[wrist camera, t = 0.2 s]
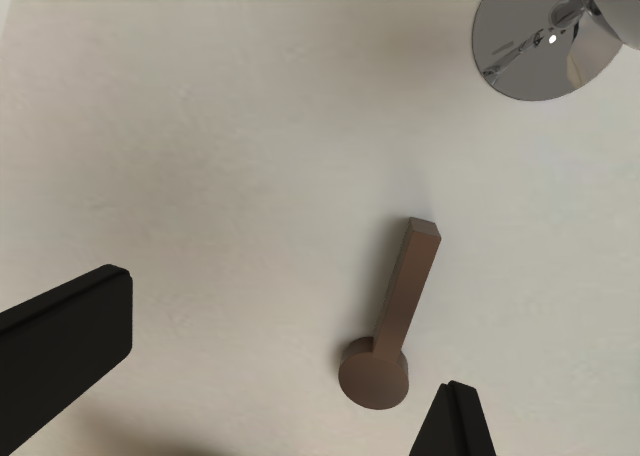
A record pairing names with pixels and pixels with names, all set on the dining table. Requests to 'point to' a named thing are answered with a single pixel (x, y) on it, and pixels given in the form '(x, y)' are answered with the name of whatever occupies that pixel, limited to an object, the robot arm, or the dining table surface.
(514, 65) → the wine glass
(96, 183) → the dining table surface
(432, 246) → the wooden spoon
